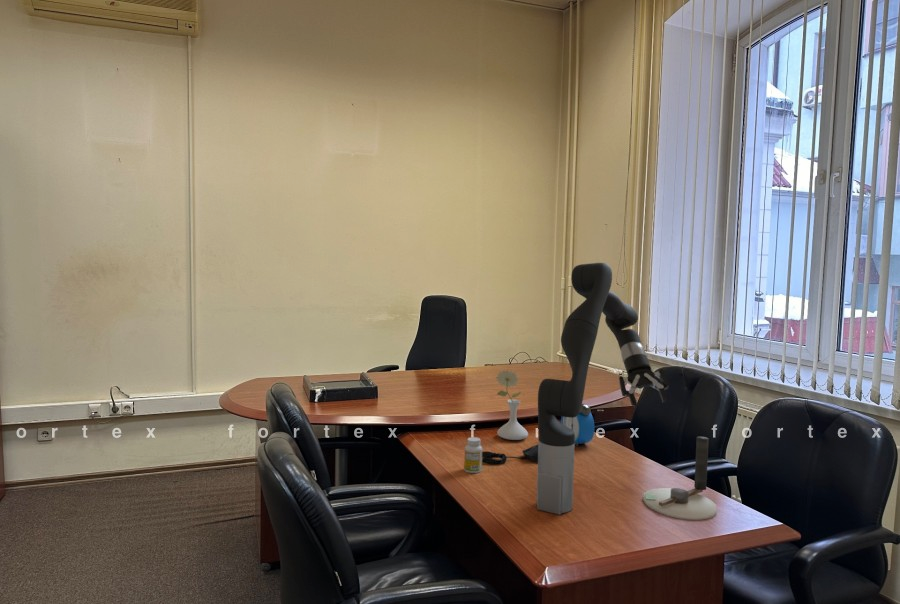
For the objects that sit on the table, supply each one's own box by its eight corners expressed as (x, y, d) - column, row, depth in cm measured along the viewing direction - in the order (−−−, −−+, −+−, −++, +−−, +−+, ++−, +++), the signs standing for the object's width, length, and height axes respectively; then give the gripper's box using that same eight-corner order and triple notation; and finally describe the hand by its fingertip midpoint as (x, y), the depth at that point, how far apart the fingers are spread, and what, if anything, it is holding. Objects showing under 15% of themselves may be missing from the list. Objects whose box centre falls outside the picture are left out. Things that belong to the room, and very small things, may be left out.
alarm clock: (560, 438, 206) (561, 398, 205) (574, 437, 208) (575, 397, 207) (579, 449, 194) (581, 406, 193) (594, 448, 196) (596, 405, 195)
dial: (668, 510, 142) (670, 451, 141) (652, 504, 145) (655, 446, 144) (710, 493, 153) (713, 439, 152) (695, 488, 157) (698, 435, 156)
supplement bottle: (471, 466, 175) (472, 435, 174) (485, 470, 171) (486, 439, 171) (460, 470, 170) (461, 439, 170) (474, 474, 167) (475, 442, 167)
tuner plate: (713, 526, 136) (713, 520, 136) (637, 509, 145) (637, 504, 145) (718, 500, 152) (719, 496, 152) (649, 486, 161) (649, 482, 161)
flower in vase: (533, 437, 207) (535, 370, 206) (520, 444, 198) (522, 374, 196) (501, 431, 214) (503, 366, 213) (487, 438, 204) (489, 370, 203)
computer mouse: (571, 462, 182) (571, 445, 181) (476, 467, 174) (476, 450, 174) (559, 452, 191) (559, 437, 191) (468, 457, 183) (468, 441, 183)
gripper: (613, 357, 179) (627, 402, 169) (658, 349, 177) (675, 394, 167) (612, 368, 185) (626, 413, 175) (656, 361, 183) (672, 405, 173)
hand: (650, 403), depth 171 cm, fingers open, 8 cm apart
